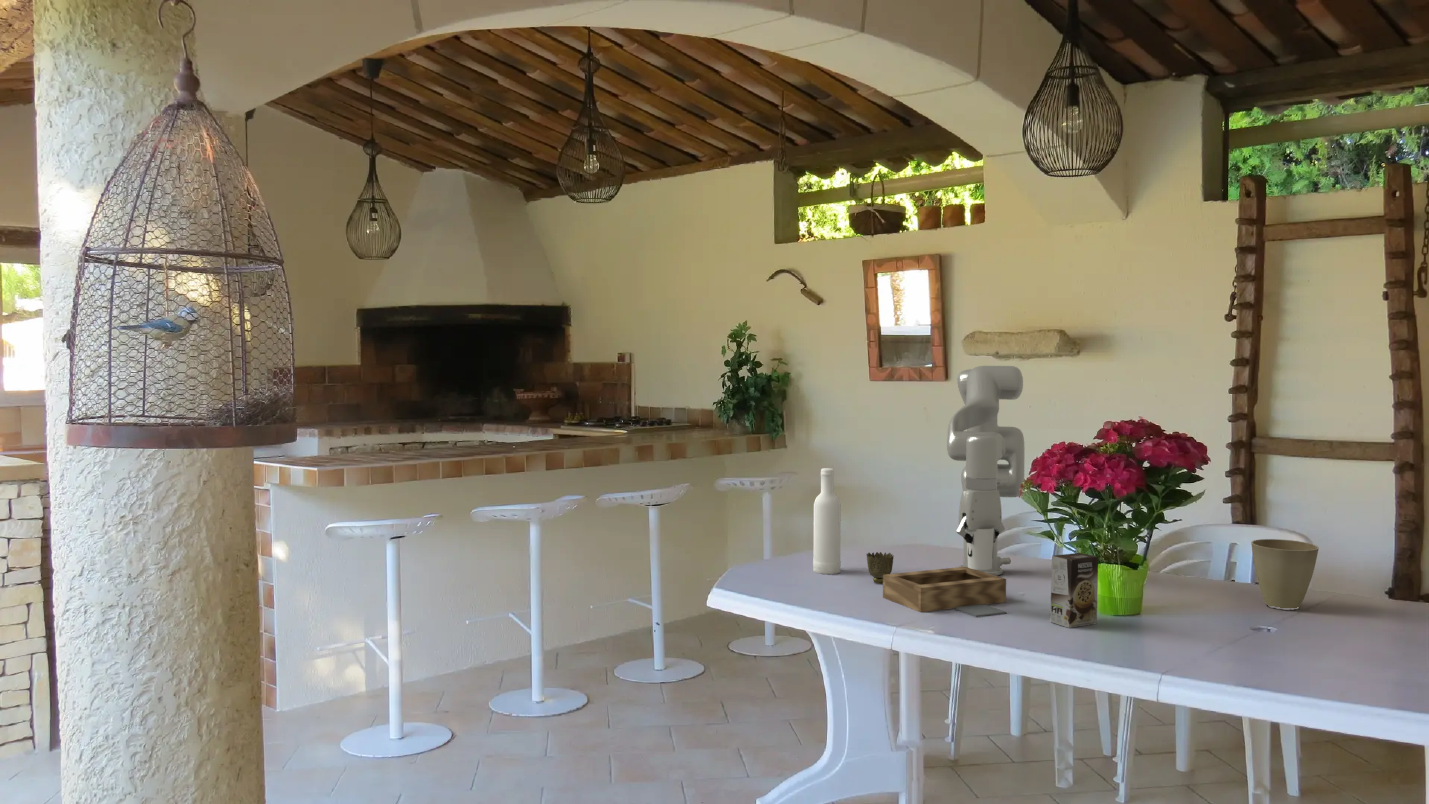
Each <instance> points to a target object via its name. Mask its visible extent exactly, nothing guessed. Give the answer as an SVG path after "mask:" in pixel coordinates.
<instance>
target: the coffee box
mask: <svg viewBox="0 0 1429 804" xmlns="http://www.w3.org/2000/svg"><path fill="white" fill-rule="evenodd" d="M1098 577H1099V556H1097V555H1092V554H1087V553H1080V552H1074V553H1066V554H1065V553H1063V554H1055V555H1052V556H1051V582H1050V584H1051V585H1050V586H1051V587H1050V591H1051V592H1050V619H1049V621H1050V623H1051V624H1052V623H1053V624H1056V625H1059V626H1062V627H1065V628H1067V629H1068V628H1069V629H1071V628H1078V626H1079V627H1082V626H1083V627H1084V626H1090V625H1089V624H1092V625H1095V624H1094V623H1097V624H1098V591H1099V590H1098V587H1099V586H1098V585H1099V584H1098V580H1099V578H1098Z"/></svg>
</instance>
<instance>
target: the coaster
mask: <svg viewBox="0 0 1429 804" xmlns="http://www.w3.org/2000/svg"><path fill="white" fill-rule="evenodd" d="M953 610H956V611H959V612H961V613H963V614H967V615H970V616H972V617H974V618H978V617H979V618H981V617H988V616H994V615H995V616H996V615H1002V614H1003V615H1004V614H1007V611H1005V610H1003V609H1000V608H997V607H995V606H994V607H993V606H990V605H989V604H986V605H985V604H977V605H969V606H960V607H954V608H953Z"/></svg>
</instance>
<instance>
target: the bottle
mask: <svg viewBox="0 0 1429 804" xmlns="http://www.w3.org/2000/svg"><path fill="white" fill-rule="evenodd" d="M819 475H820V493H819V494H818V495H817V496H816V497H815V500H814V502H813V538H812V539H813V549H812V550H813V553H812V555H813V559H812V569H813V572H814V573H816V574H819V575H820V574H821V575H834V574H835V575H837V574H839V573H840V572H841V566H842V565H841V562H842V561H841V530H842V529H841V521H842V519H841V516H842V515H841V511H842V509H841V502H840V498H839V497H838V496H837V495H836V494H835V493H834V490H835V489H834V483H835V482H834V477H835V476H834V475H835V471H834V468H830V467H827V468H825V467H823V468H821V469H820V473H819Z"/></svg>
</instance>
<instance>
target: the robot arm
mask: <svg viewBox="0 0 1429 804" xmlns="http://www.w3.org/2000/svg"><path fill="white" fill-rule="evenodd" d="M956 380H957V388H958V392H959V394H960V396H961V399H962V401H963V404H964V405H963V406H962V407H961V408H959V409H958V410H957V411H955V413H954V414H953V416H952V417H951V419H950V420H949V423H948V427H947V435H946V436H947V439H946V451H947V454H948V456H949V458H951V460H954V461H958V462H959V461H960V462H965V466H964V467H963V469H962V471H961V486H962V492H961V496H960V500H959V510H958V527H957V529H956V534H958V535H959V536H961V537H962V538H963V557H962V559H963V564H962V565H959V566H958V567H968V556H969V557H972V550H971V553H970V554H969V549H968V556H967V543H971V544H973V542H974V534H973V536H971V535H970V534H968V533H967V531H966V527H968V530H969V531H971V532H975V531H977V529H992V528H994V536H993V554H992V569H988V570H978V571H981V572H985V573H988V574H991V575H995V576H1001V575H1002V574H1003V572H1004V570H1003V569H1002V567H1001V566H1003V565H1010V564H1011V563H1012V560H1011V558H1010V557H1003V558H1001V556H999V555H998V543H999V541H998V539H999V538H998V536H999V535H1000V534H1001V533H1003V532H1004V531H1005V526H1004V524H1003V522H1002V519H1003V517H1002V516H1003V515H1002V514H1003V512H1002V502H1001V501H1002V500H1001V498H1018V497H1020V496H1021V495H1020V491H1019V487H1020V485H1021V484H1022V482H1023V481H1024V482H1025V448H1026V447H1025V438H1024V432H1023V431H1022V430H1021V429H1020V428H1018V427H1016V426H999V423H998V416H999V412H1000V400H1009V401H1010V400H1011V401H1012V400H1013V401H1014V400H1017V399H1019V398H1020V397H1021V394H1022V392H1023V389H1024V388H1023V387H1024V378H1023V374H1022V372H1021V370H1020V368H1019V367H1018V366H1014V365H979V366H975V367H973V368H968V369H965V370H961V371H960V372H959V374H958V375H957V379H956ZM1000 460H1001V461H1006V462H1007V463H998V462H999V461H1000ZM975 570H976V569H975Z"/></svg>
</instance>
